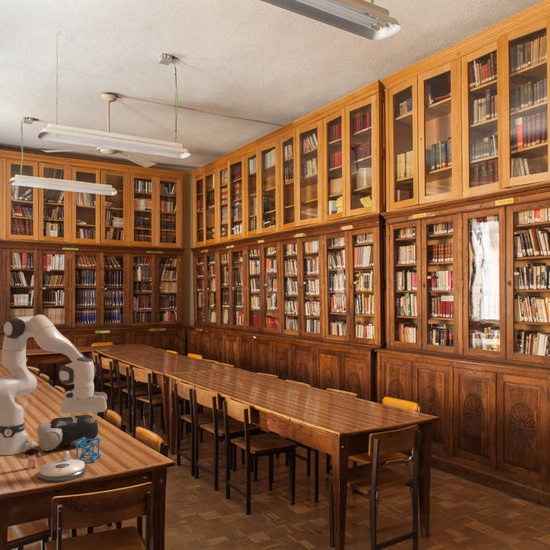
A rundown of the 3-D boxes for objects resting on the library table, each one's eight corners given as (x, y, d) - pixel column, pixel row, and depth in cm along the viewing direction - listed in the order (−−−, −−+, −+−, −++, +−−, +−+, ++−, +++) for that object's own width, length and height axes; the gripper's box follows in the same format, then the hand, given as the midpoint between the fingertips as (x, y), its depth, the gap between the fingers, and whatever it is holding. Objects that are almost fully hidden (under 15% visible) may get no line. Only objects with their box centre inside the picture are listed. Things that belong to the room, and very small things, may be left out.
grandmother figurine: (37, 465, 249) (37, 438, 250) (41, 467, 247) (41, 440, 247) (21, 469, 243) (21, 442, 244) (24, 471, 241) (25, 443, 241)
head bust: (44, 460, 262) (104, 444, 279) (41, 427, 262) (101, 412, 279) (36, 450, 280) (93, 435, 297) (32, 419, 279) (89, 405, 297)
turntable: (45, 463, 245) (45, 451, 245) (87, 461, 248) (88, 449, 248) (34, 478, 226) (34, 465, 226) (80, 475, 230) (80, 462, 230)
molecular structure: (101, 456, 262) (101, 436, 263) (94, 463, 252) (94, 442, 253) (81, 456, 262) (81, 436, 263) (73, 463, 252) (74, 442, 253)
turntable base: (44, 468, 245) (44, 463, 245) (89, 465, 249) (89, 461, 249) (32, 483, 226) (32, 479, 226) (81, 480, 229) (81, 476, 229)
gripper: (108, 390, 252) (107, 419, 251) (63, 392, 248) (62, 421, 248) (106, 392, 245) (106, 422, 245) (60, 394, 242) (59, 424, 241)
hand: (84, 422), depth 246 cm, fingers open, 7 cm apart
